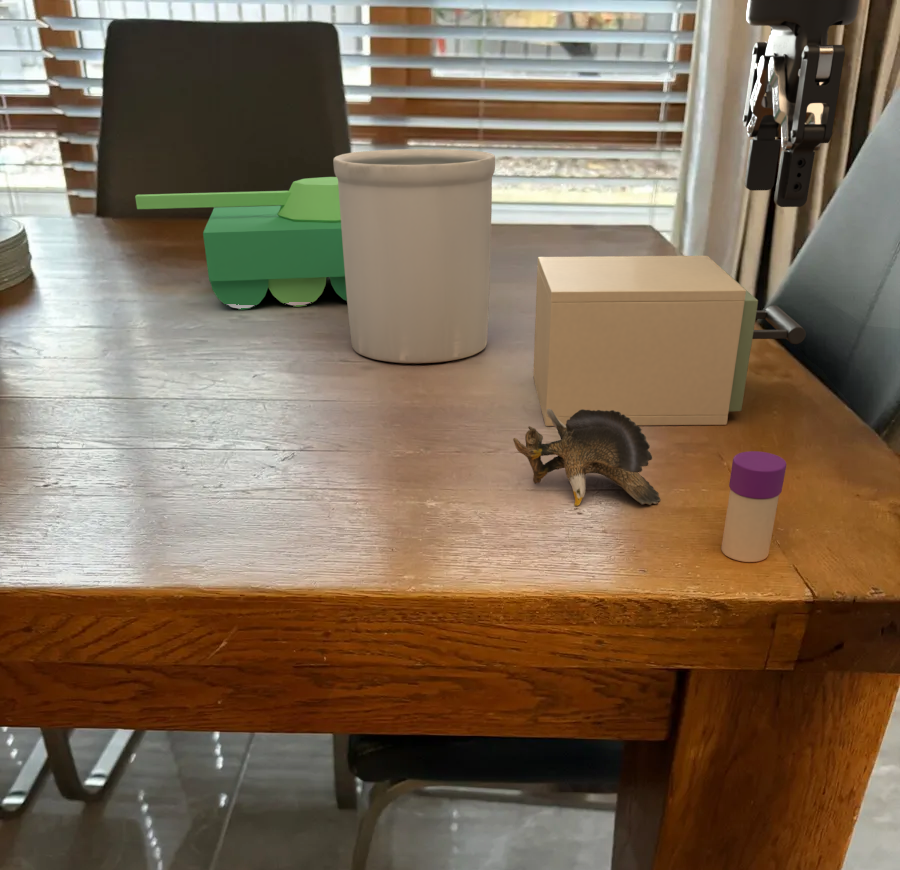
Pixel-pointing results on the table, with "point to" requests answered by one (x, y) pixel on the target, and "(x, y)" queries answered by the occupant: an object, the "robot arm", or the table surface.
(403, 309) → the utensil holder
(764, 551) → the glue stick
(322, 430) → the table surface
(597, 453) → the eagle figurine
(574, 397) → the cabinet
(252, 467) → the table surface
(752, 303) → the drawer
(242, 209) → the toy tank
